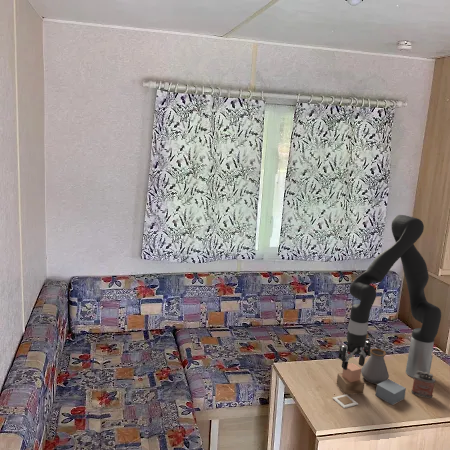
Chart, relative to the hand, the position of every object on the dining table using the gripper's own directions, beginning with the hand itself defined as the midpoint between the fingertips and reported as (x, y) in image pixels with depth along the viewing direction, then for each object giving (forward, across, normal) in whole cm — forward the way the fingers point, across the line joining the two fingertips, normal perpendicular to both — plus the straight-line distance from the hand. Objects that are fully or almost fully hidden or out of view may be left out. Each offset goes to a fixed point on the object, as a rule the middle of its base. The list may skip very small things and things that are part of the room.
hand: (352, 367), depth 199 cm
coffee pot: (+10, -16, -7) cm, 20 cm away
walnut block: (+10, 0, 0) cm, 10 cm away
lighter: (+10, -26, +14) cm, 31 cm away
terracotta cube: (+5, 0, 0) cm, 5 cm away
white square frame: (+10, +8, +7) cm, 14 cm away
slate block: (+10, -11, +11) cm, 19 cm away
